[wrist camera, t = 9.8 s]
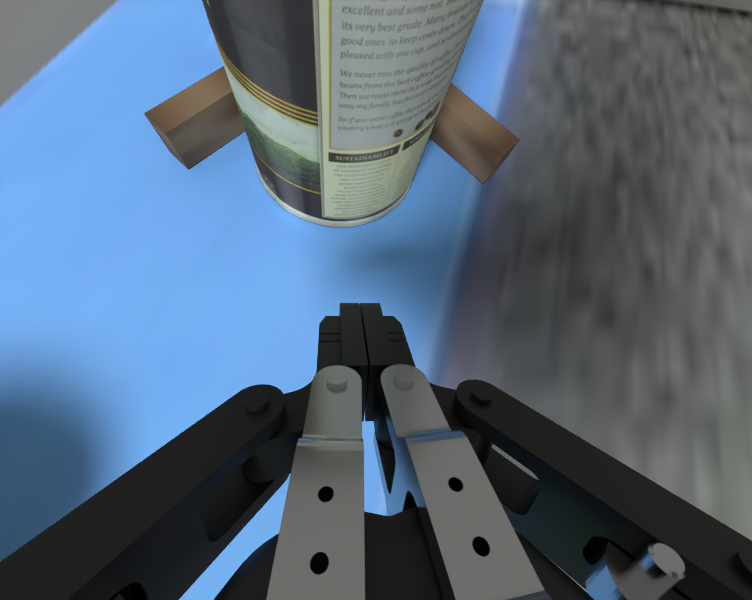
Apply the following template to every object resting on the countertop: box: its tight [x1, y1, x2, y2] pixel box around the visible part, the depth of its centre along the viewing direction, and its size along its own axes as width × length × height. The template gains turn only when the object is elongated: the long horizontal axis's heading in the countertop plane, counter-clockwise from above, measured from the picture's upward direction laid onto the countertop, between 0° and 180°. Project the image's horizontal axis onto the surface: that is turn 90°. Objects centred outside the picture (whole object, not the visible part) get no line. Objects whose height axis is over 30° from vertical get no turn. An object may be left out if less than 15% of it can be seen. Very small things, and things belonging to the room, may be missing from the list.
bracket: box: [144, 66, 519, 184], centre depth 20 cm, size 11×21×3 cm, turn 92°
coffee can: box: [202, 0, 484, 227], centre depth 14 cm, size 10×10×14 cm
